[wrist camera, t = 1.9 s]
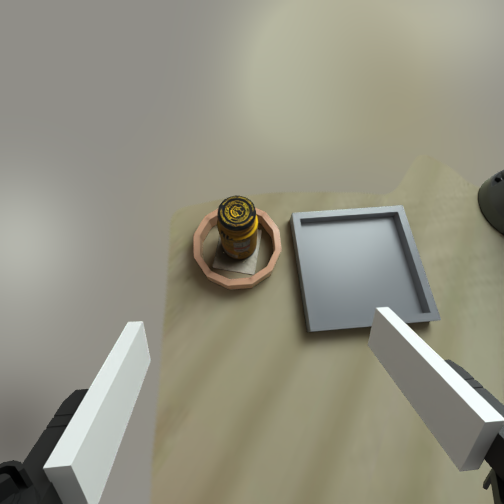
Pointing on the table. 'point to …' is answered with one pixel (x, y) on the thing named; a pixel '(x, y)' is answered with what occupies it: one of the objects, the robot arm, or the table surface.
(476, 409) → the robot arm
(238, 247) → the condiment
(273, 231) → the ring holder
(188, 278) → the table surface
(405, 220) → the tray
